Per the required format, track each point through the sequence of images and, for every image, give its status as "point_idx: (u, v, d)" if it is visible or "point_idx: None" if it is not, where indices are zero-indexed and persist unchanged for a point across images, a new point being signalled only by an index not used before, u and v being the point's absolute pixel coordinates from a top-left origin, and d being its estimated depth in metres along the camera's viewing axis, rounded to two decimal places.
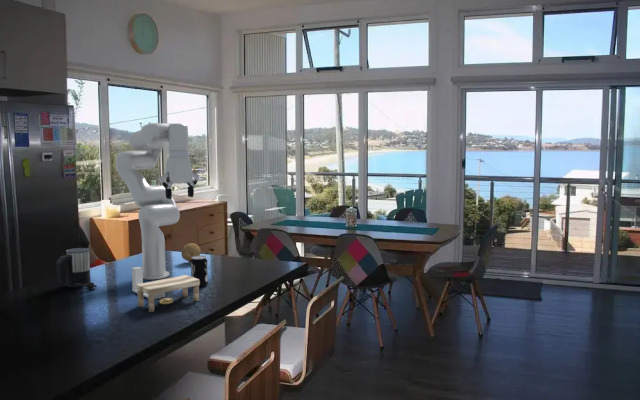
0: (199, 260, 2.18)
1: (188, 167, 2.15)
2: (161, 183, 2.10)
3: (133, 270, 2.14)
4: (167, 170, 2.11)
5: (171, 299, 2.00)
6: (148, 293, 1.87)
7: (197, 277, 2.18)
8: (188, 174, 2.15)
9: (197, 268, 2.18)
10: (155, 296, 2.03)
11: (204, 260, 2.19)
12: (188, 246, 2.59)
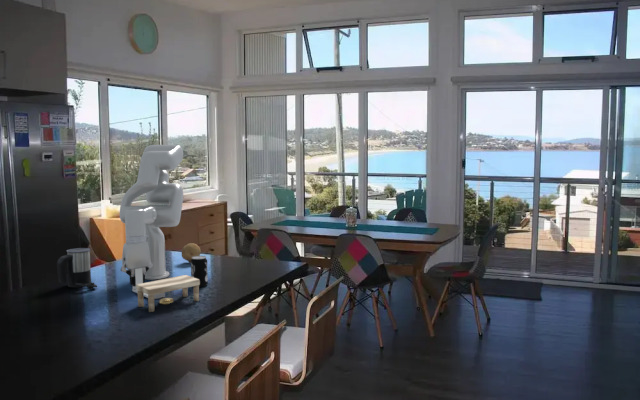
0: (199, 260, 2.18)
1: (145, 251, 2.14)
2: (125, 271, 2.12)
3: None
4: (124, 256, 2.11)
5: (171, 299, 2.00)
6: (148, 293, 1.87)
7: (197, 277, 2.18)
8: (145, 258, 2.15)
9: (197, 268, 2.18)
10: (155, 296, 2.03)
11: (204, 260, 2.19)
12: (188, 246, 2.59)
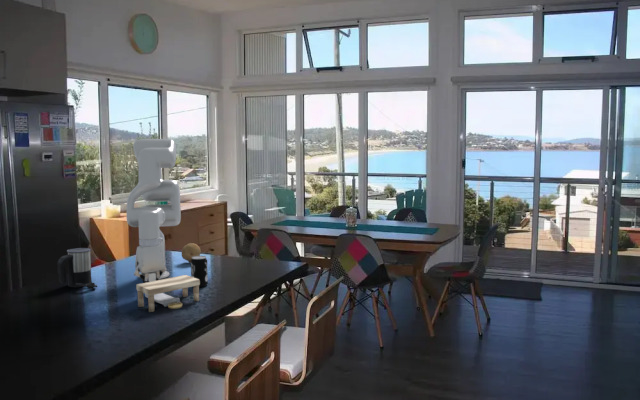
0: (199, 260, 2.18)
1: (159, 254, 2.06)
2: None
3: None
4: (137, 259, 2.03)
5: (180, 303, 1.94)
6: (148, 293, 1.87)
7: (197, 277, 2.18)
8: (159, 262, 2.06)
9: (197, 268, 2.18)
10: (169, 302, 1.95)
11: (204, 260, 2.19)
12: (188, 246, 2.59)
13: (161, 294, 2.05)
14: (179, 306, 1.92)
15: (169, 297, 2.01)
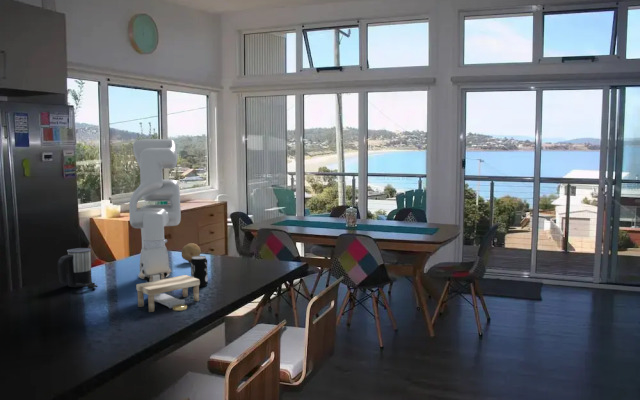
0: (199, 260, 2.18)
1: (164, 256, 2.04)
2: None
3: None
4: (141, 261, 2.00)
5: (185, 305, 1.92)
6: (148, 293, 1.87)
7: (197, 277, 2.18)
8: (164, 264, 2.04)
9: (197, 268, 2.18)
10: (174, 304, 1.93)
11: (204, 260, 2.19)
12: (188, 246, 2.59)
13: (166, 295, 2.03)
14: (184, 308, 1.90)
15: (174, 299, 1.99)
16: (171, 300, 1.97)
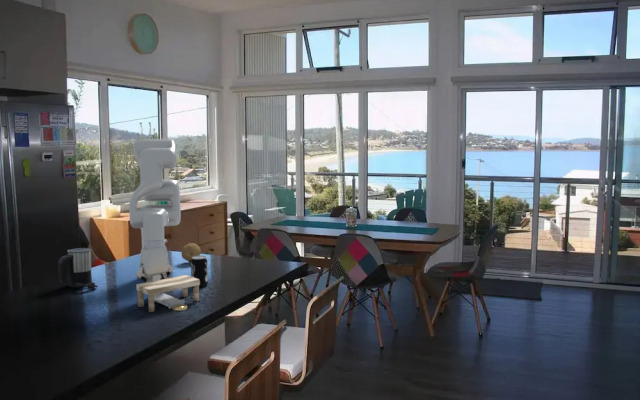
0: (199, 260, 2.18)
1: (164, 256, 2.04)
2: (140, 277, 2.00)
3: None
4: (141, 261, 2.00)
5: (185, 305, 1.92)
6: (148, 293, 1.87)
7: (197, 277, 2.18)
8: (164, 264, 2.04)
9: (197, 268, 2.18)
10: (174, 304, 1.93)
11: (204, 260, 2.19)
12: (188, 246, 2.59)
13: (166, 295, 2.03)
14: (184, 308, 1.90)
15: (174, 299, 1.99)
16: (171, 300, 1.97)
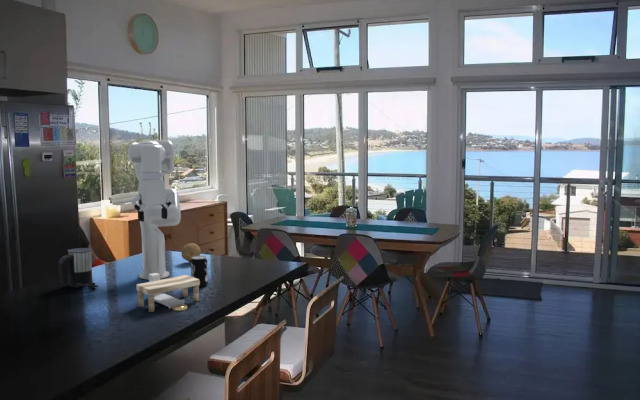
0: (199, 260, 2.18)
1: (161, 188, 2.11)
2: (133, 206, 2.06)
3: (150, 277, 2.04)
4: (139, 192, 2.08)
5: (185, 305, 1.92)
6: (148, 293, 1.87)
7: (197, 277, 2.18)
8: (161, 196, 2.12)
9: (197, 268, 2.18)
10: (174, 304, 1.93)
11: (204, 260, 2.19)
12: (188, 246, 2.59)
13: (166, 295, 2.03)
14: (184, 308, 1.90)
15: (174, 299, 1.99)
16: (171, 300, 1.97)
